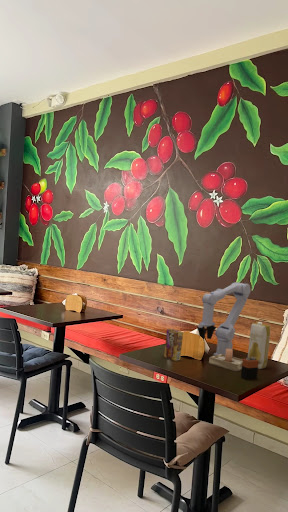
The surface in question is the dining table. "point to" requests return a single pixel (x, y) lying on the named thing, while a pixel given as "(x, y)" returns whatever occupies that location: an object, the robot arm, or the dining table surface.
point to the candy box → (173, 344)
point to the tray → (220, 362)
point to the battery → (249, 368)
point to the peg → (228, 355)
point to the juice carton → (259, 343)
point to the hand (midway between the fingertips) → (205, 339)
